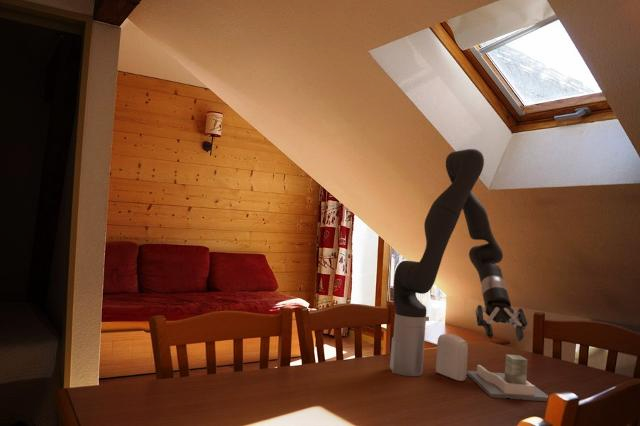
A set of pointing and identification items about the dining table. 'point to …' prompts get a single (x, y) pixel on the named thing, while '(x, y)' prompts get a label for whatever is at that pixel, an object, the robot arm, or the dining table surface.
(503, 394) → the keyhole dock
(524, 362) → the sage hanger block
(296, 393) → the dining table surface
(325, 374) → the dining table surface
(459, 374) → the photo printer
